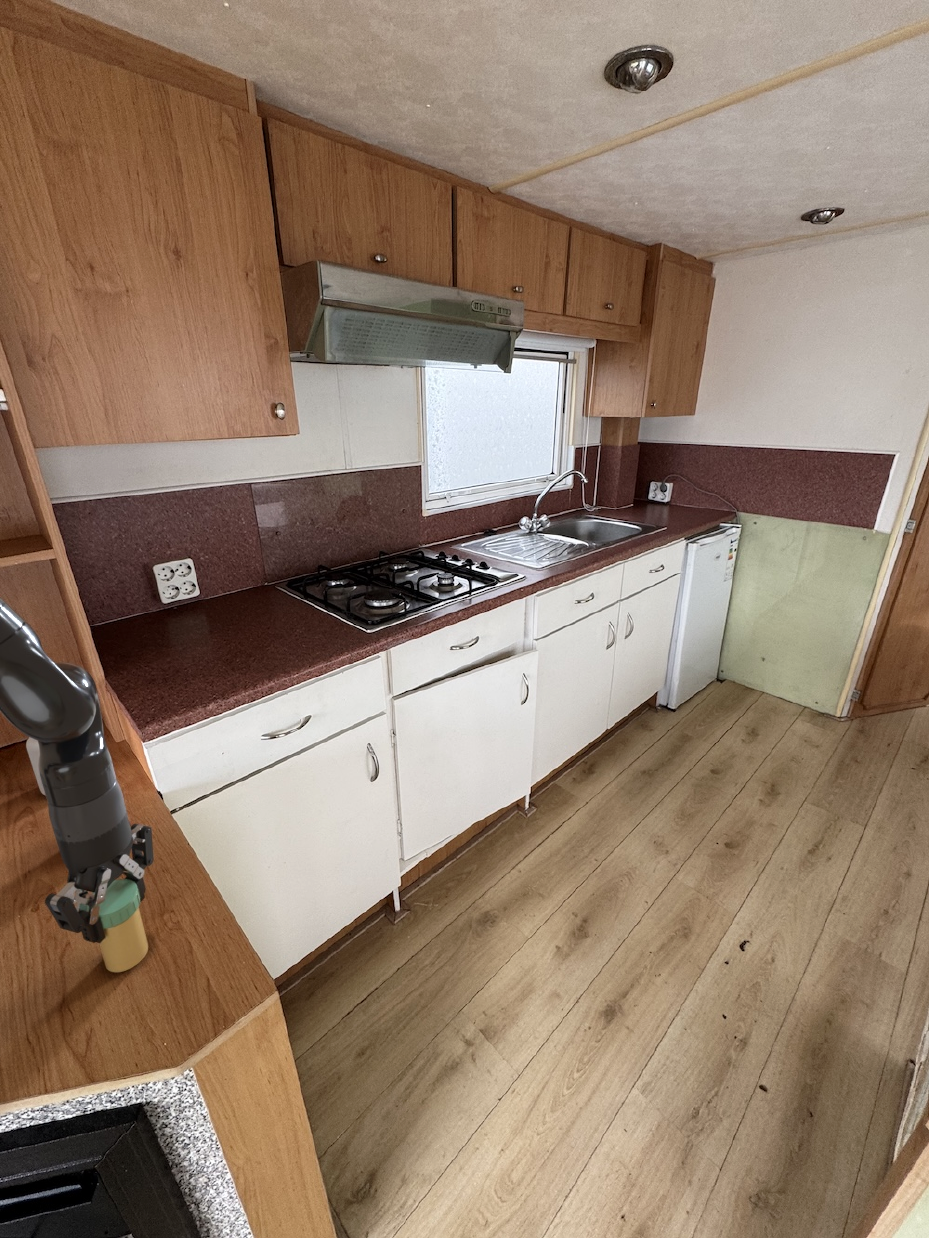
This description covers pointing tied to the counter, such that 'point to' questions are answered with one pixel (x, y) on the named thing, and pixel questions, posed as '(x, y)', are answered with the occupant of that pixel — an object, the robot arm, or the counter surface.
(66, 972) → the counter surface
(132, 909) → the lid
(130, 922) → the jar
